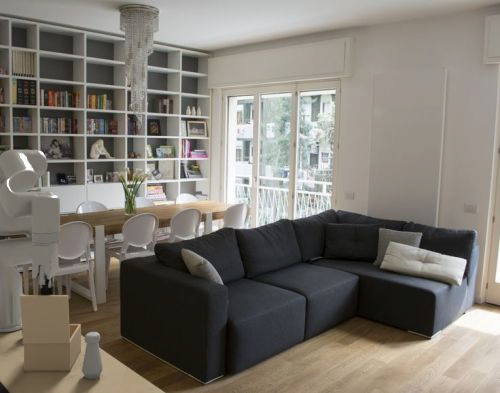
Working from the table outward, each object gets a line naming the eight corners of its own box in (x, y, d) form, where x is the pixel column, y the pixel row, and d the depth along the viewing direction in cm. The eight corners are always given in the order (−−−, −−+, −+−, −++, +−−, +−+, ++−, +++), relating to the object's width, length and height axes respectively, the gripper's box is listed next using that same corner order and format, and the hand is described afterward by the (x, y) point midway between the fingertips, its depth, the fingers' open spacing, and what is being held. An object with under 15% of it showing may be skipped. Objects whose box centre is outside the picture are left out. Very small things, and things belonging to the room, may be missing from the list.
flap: (20, 295, 138) (19, 296, 137) (68, 295, 140) (67, 296, 139) (23, 342, 142) (23, 343, 141) (70, 342, 143) (69, 343, 143)
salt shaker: (96, 382, 139) (96, 339, 137) (78, 379, 140) (77, 336, 138) (106, 372, 144) (106, 331, 143) (88, 370, 146) (88, 328, 144)
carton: (39, 351, 157) (38, 324, 156) (81, 350, 158) (81, 324, 157) (24, 372, 143) (23, 343, 142) (70, 371, 144) (70, 342, 143)
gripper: (40, 232, 146) (41, 292, 148) (23, 243, 131) (25, 309, 133) (66, 232, 147) (67, 292, 149) (52, 243, 132) (53, 308, 134)
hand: (47, 300), depth 141 cm, fingers closed
